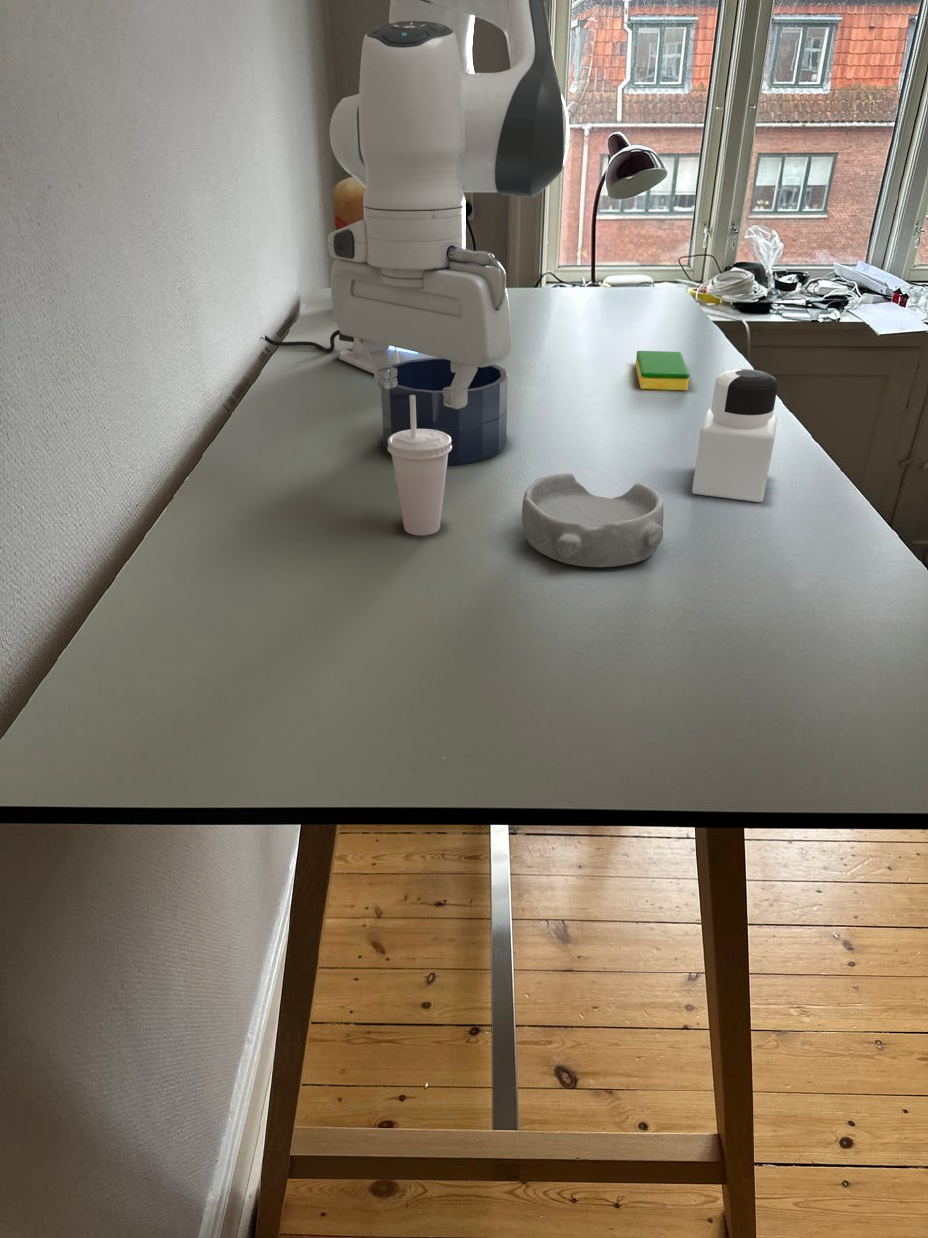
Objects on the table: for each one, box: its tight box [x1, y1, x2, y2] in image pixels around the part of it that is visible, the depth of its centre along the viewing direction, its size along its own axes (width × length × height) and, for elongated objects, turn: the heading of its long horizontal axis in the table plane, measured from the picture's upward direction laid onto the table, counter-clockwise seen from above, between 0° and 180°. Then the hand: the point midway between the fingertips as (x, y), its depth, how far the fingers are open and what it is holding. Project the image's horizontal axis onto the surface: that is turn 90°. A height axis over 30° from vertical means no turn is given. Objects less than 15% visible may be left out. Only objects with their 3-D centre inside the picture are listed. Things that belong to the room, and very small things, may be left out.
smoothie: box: [387, 395, 452, 536], centre depth 89 cm, size 6×6×14 cm
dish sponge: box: [635, 350, 690, 391], centre depth 140 cm, size 7×14×2 cm, turn 174°
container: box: [691, 368, 779, 503], centre depth 99 cm, size 8×8×13 cm
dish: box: [521, 472, 665, 568], centre depth 88 cm, size 14×14×5 cm
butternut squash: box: [332, 176, 365, 260], centre depth 177 cm, size 14×13×25 cm
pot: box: [380, 358, 509, 466], centre depth 112 cm, size 16×16×9 cm
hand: (419, 396), depth 85 cm, fingers open, 8 cm apart
